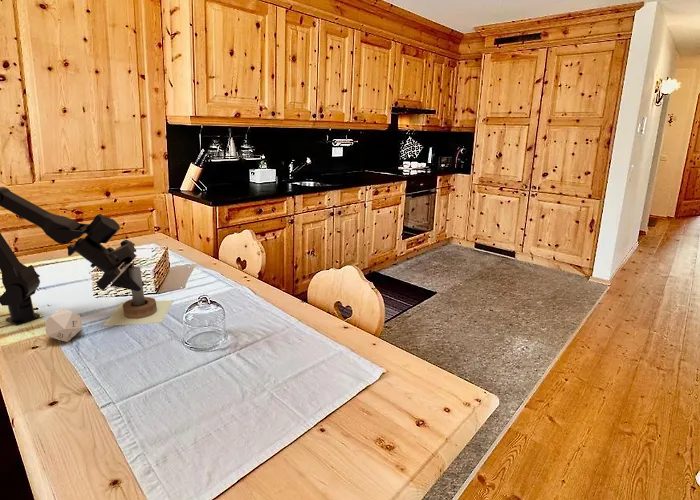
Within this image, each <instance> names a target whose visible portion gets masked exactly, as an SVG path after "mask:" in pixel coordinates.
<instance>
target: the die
mask: <svg viewBox="0 0 700 500" xmlns="http://www.w3.org/2000/svg"><path fill="white" fill-rule="evenodd" d="M44 327H45V334H46V336H47V337H49V338H52V339H55V340H59V341H62V342H65V343H69V342H70V341H71V339H73V338H74V337H75V336H76V335H77V334H78V333H79V332H80V331H81V330H83V328H84V326H83V322H82V318H81V315H80V314H78V313H76V312H74V311H71V310H67V309H64V308H59V309H58V310H56V311H55V312H54V313H53V314H51V316H50V317H48V318H47V319H46V320H45V322H44Z"/></svg>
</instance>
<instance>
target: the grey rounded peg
mask: <svg viewBox="0 0 700 500" xmlns="http://www.w3.org/2000/svg"><path fill="white" fill-rule="evenodd" d="M128 270H129V277H130V278H131V279H132V280H133V281H134V282H135V283H136V284H137V285H138V286H139V287H140V288H141V290H140V291H134V290H131V297H132V298H131V299H133V305H134V307H138V306H143V305H145V299H144V297H145V293H144V286H143V284H142V281H143V279H142V278H143V277H142V270H141V267H140V266H134V267H131V268H129V269H128Z"/></svg>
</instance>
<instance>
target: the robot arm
mask: <svg viewBox="0 0 700 500" xmlns="http://www.w3.org/2000/svg"><path fill="white" fill-rule="evenodd" d="M0 207H1V208H3V209H5V210H8V211H9V212H11V213H12V214H15V215H17V216H18V217H20V218H22V219H24V220H26V221H28V222H30V223H31V224H33V225H36V226H37V227H39V228H40V229H41V230H42V231H43V233H44V234H45V235H46V236H47V237H48V238H50V239H52V240H53V241H54V242H56V243H57V244H60V245H66V244H69V245H67V246H66V248H67V256H69V257H70V256H72V255H74V254H75V253H77V254H79V256H80V257H82V258H84V259H85V260H86V261H88V262H89V263H90V267H91V268H92V269H94V268H97V269H99V270H100V271H101V272H103V274H102V276H101V277H100V278H99V279H98V280H97V281H96V286H97V288H99V289H100V290H101V291H104V290H105V289H107V288H108V286H110V288H112V287H115V288H122V289H125V290H126V289H127V290H129V291H130V290H134V291H140V290H141V288H140V287H139V286H138V285H137V284H136V283H135V282H134V281H133V280H132V279H131V278H130V277H129V270H128V269H129V268H131V267H135V261H134V259H135V258H136V257H137V256H138V255H137V254H136V252H137V249H136V247H135V246H136V245H135V243H133V242H132V241H130V240H128V239H124V240H122V241H121V242H120V246H118V247H117V248H115V249H114V248H113V247H109V246H108V247H105V246H104V245H102V244H108V243H109V241H110V240H111V239H112V238H113V237H114V236H115V235H116V234H117V233H118V231H120V230H121V227H120V224H119V223H118V222H117V221H116V220H115V219H113V218H110V217H108V216H105V215H103V214H101V213H99V214H96V215H95V216H94V217H93V220H92V221H91V222H90V223H81V222H79V221H77V220H74V219H72V218H71V217H70V218H69V217H67V216H64V215H58V214H55V213H51V212H50V211H48V210H45V209H44V208H41V207H40V206H38V205H37V204H35V203H32V202H31V201H29V200H27V199H25V198H23V197H21V196H20V195H18V194H16V193H14V192H13V191H11V190H10V189H9V188H7V187H5V186H0ZM84 235H86V236H85V237H83V236H84ZM75 240H76V241H75ZM73 241H75V242H74V243H72V242H73ZM70 243H72V244H70ZM0 272H1V283H2V285H3V287H4V289H5V291H4V292H3V294H1V295H0V305H1V306H2V307H3V306H4V307H5V306H7V309H8V313H9V316H8V317H6V318H5V321H7V322H9V323H11V324H13V325H16V326H18V325H21V324H22V325H23V324H24V323H27V322H29V321H33V320H35V319H38V318H41V315H40V314H39V313H36V312H35V309H34V305H33V302H32V296H33V295H35V294H36V290H37V289H38V288H39V286H40V284H41V280H40V277H41V275H39V274H38V272H37V271H36V269H35V267H34V266H33V265H32V264H30V265H28V266H27V265H25V264H23V263H22V262H20V260H19V258H18V257H17V256H16V254H15V253H14V251H13V249H12V248H11V247H10V245H9V243H8V242H7V240H6V239H5V238H4V236H3V235H2V233H1V232H0ZM142 284H143V287H144V286H145V283H144V280H142Z"/></svg>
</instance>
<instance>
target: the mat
mask: <svg viewBox="0 0 700 500" xmlns="http://www.w3.org/2000/svg"><path fill="white" fill-rule="evenodd" d="M155 301H156V306H157V311H156V312H155V313H154V314H153V315H150V316H148V317H144V318H139V319H129V318H126V317H125V316H124V311H123V304H124V303H125V302H126V301H123V302H121V303H120V304H119V305H118V306H117V308H116V309H115V310H114V311H113V313H112V314H110V316H109V318H108V319H107V320H106V321H105V322H104V324H103V325H102V327H108V326H125V325H126V326H127V325H128V326H129V325H142V324H144V325H145V324H162V323H163V322H164V320H165V317H166V315H167V314H168V312H169V310H170V309H171V306H172V305H173V303H174V300H173V299H172V300H171V299H169V300H168V299H166V300H155Z"/></svg>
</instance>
